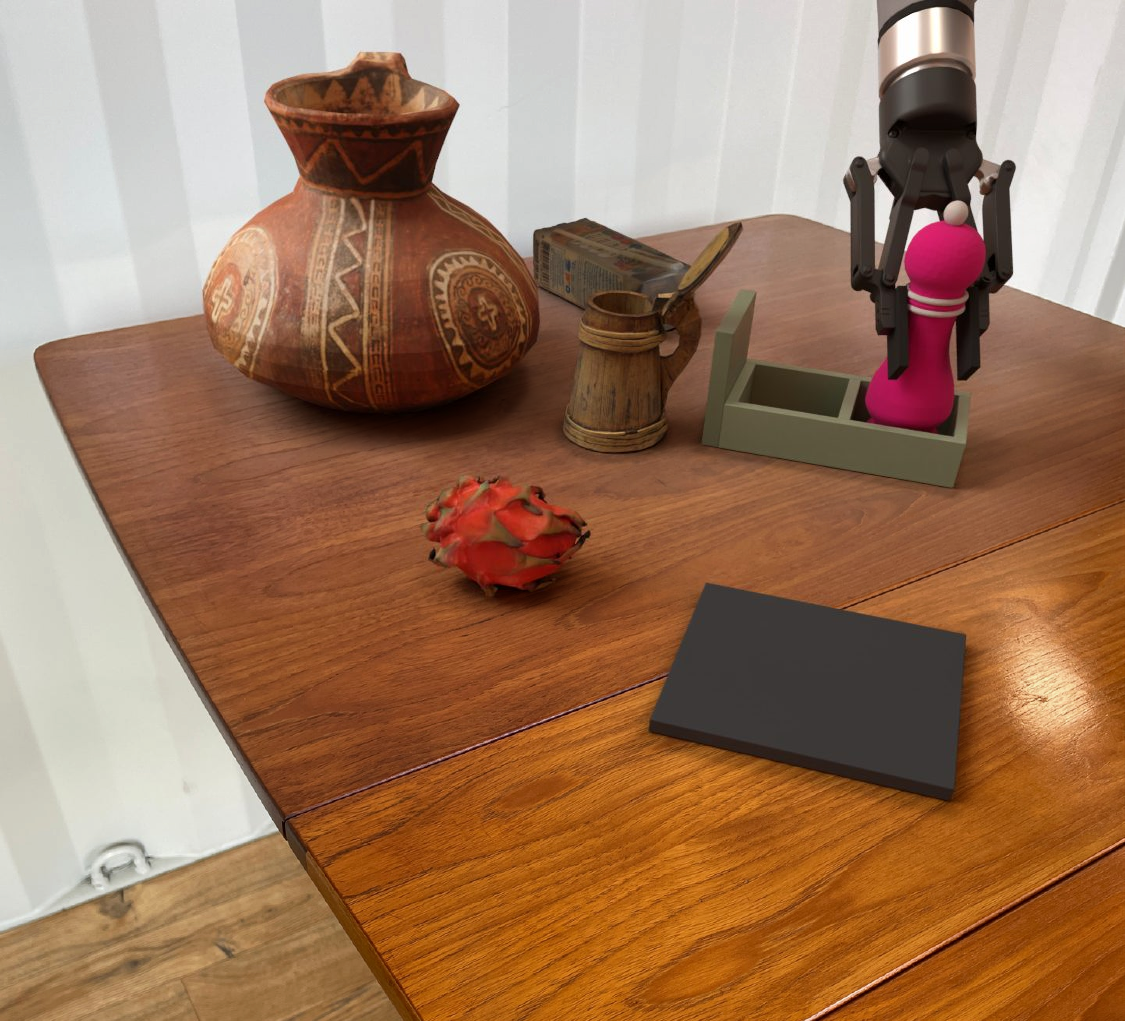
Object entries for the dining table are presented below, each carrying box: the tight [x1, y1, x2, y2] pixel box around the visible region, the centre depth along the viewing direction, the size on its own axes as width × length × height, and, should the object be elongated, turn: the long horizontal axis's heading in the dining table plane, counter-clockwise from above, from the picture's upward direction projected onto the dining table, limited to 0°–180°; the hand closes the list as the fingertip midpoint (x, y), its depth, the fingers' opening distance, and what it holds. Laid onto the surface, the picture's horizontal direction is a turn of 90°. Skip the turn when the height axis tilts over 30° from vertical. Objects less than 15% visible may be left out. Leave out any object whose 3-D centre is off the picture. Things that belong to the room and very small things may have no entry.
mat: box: [648, 582, 967, 802], centre depth 70 cm, size 18×16×1 cm
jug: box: [201, 51, 541, 415], centre depth 95 cm, size 30×30×25 cm
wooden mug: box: [562, 221, 744, 453], centre depth 90 cm, size 9×14×18 cm, turn 82°
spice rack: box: [701, 288, 972, 489], centre depth 93 cm, size 22×10×10 cm, turn 72°
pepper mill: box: [865, 201, 986, 434], centre depth 88 cm, size 7×7×20 cm
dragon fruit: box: [419, 473, 591, 597], centre depth 76 cm, size 8×8×12 cm
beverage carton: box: [532, 217, 696, 332], centre depth 117 cm, size 8×19×7 cm, turn 37°
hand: (933, 373), depth 87 cm, fingers closed on pepper mill, 5 cm apart
